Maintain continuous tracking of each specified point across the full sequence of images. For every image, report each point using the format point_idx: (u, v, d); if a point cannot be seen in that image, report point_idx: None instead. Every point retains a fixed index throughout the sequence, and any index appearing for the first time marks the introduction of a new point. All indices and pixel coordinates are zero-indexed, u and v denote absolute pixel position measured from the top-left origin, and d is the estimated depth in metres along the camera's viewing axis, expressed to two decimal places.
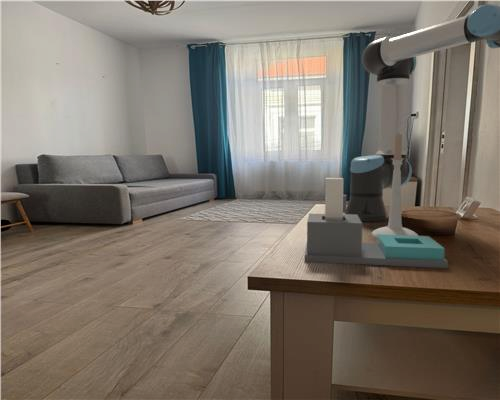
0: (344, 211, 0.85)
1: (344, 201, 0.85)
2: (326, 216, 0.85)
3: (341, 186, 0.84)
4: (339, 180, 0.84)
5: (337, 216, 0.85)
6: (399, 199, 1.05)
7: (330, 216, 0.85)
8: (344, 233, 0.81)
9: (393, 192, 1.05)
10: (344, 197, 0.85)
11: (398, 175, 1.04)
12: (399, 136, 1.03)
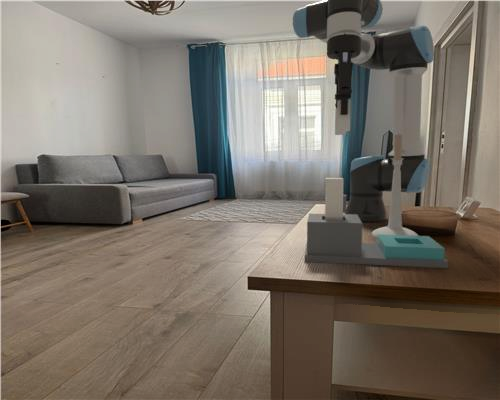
0: (344, 211, 0.85)
1: (344, 201, 0.85)
2: (326, 216, 0.85)
3: (341, 186, 0.84)
4: (339, 180, 0.84)
5: (337, 216, 0.85)
6: (399, 199, 1.05)
7: (330, 216, 0.85)
8: (344, 233, 0.81)
9: (393, 192, 1.05)
10: (344, 197, 0.85)
11: (398, 175, 1.04)
12: (399, 136, 1.03)
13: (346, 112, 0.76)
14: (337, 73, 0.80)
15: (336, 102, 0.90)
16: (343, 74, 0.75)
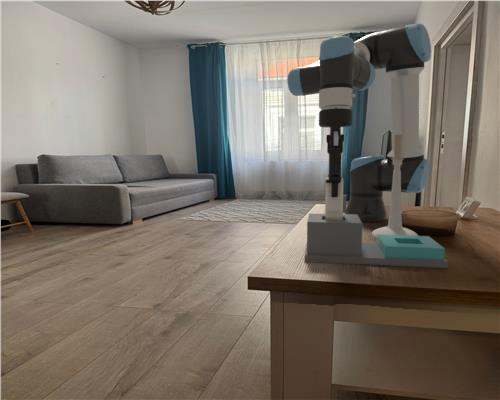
0: (344, 211, 0.85)
1: (344, 201, 0.85)
2: (326, 216, 0.85)
3: (341, 186, 0.84)
4: None
5: (337, 216, 0.85)
6: (399, 199, 1.05)
7: (330, 216, 0.85)
8: (344, 233, 0.81)
9: (393, 192, 1.05)
10: (344, 197, 0.85)
11: (398, 175, 1.04)
12: (399, 136, 1.03)
13: (336, 195, 0.83)
14: (328, 150, 0.83)
15: None
16: (334, 161, 0.80)
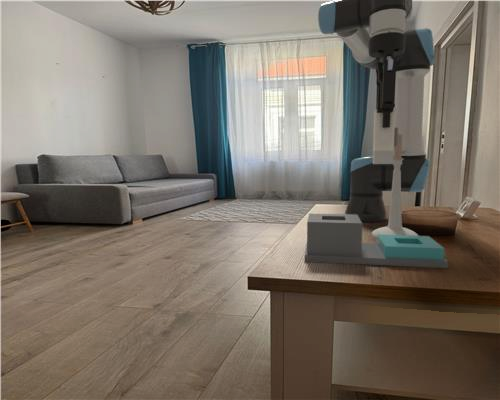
0: (395, 144, 0.81)
1: (395, 133, 0.81)
2: (376, 149, 0.81)
3: None
4: None
5: (388, 149, 0.81)
6: (399, 199, 1.05)
7: (380, 149, 0.81)
8: (344, 233, 0.81)
9: (393, 192, 1.05)
10: (395, 129, 0.81)
11: (398, 175, 1.04)
12: (399, 136, 1.03)
13: (388, 125, 0.79)
14: (380, 78, 0.79)
15: (378, 107, 0.84)
16: (387, 86, 0.76)
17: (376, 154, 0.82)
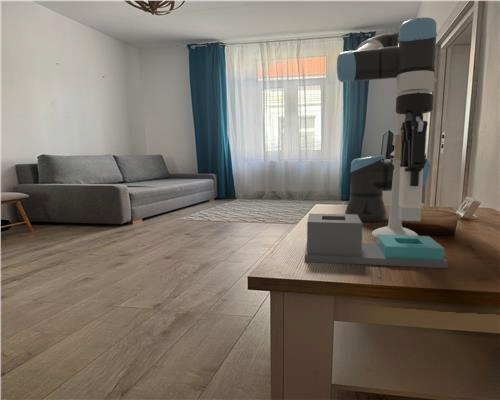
0: (422, 201, 0.81)
1: (422, 190, 0.81)
2: (403, 206, 0.81)
3: None
4: None
5: (415, 206, 0.81)
6: None
7: (407, 206, 0.81)
8: (344, 233, 0.81)
9: (393, 192, 1.05)
10: (423, 186, 0.81)
11: (398, 175, 1.04)
12: (399, 136, 1.03)
13: (417, 184, 0.79)
14: (408, 137, 0.79)
15: (403, 162, 0.85)
16: (417, 147, 0.76)
17: (403, 211, 0.82)
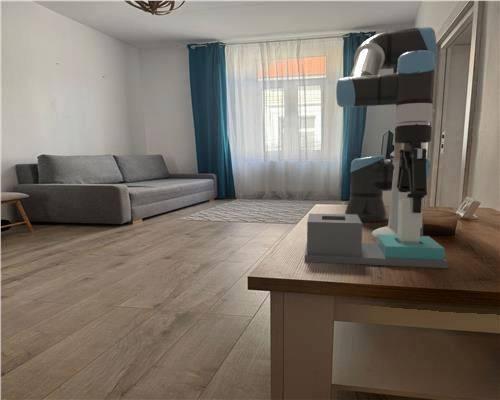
0: (421, 234, 0.82)
1: None
2: (402, 239, 0.83)
3: None
4: None
5: (414, 240, 0.82)
6: None
7: (406, 239, 0.82)
8: (344, 233, 0.81)
9: (393, 192, 1.05)
10: None
11: None
12: None
13: (419, 211, 0.77)
14: (408, 165, 0.79)
15: (400, 185, 0.88)
16: (418, 174, 0.75)
17: None
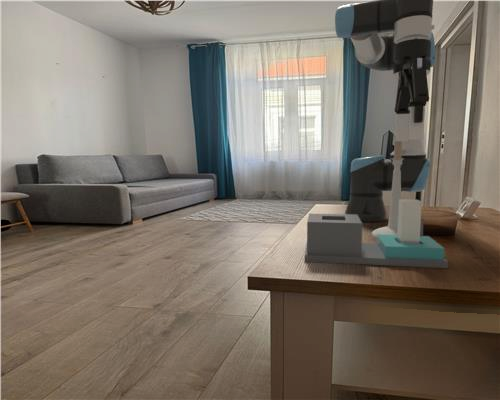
0: (421, 234, 0.82)
1: (421, 224, 0.82)
2: (402, 239, 0.83)
3: (419, 209, 0.81)
4: (417, 203, 0.81)
5: (414, 240, 0.82)
6: None
7: (406, 239, 0.82)
8: (344, 233, 0.81)
9: (393, 192, 1.05)
10: (421, 220, 0.82)
11: (398, 175, 1.04)
12: None
13: (421, 120, 0.74)
14: (408, 79, 0.77)
15: (398, 108, 0.88)
16: (419, 81, 0.73)
17: None
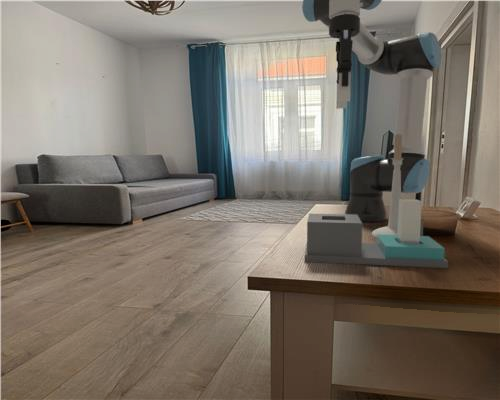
0: (421, 234, 0.82)
1: (421, 224, 0.82)
2: (402, 239, 0.83)
3: (419, 209, 0.81)
4: (417, 203, 0.81)
5: (414, 240, 0.82)
6: None
7: (406, 239, 0.82)
8: (344, 233, 0.81)
9: (393, 192, 1.05)
10: (421, 220, 0.82)
11: (398, 175, 1.04)
12: (399, 136, 1.03)
13: (347, 83, 0.85)
14: (338, 49, 0.89)
15: (337, 78, 0.99)
16: (344, 49, 0.84)
17: None
